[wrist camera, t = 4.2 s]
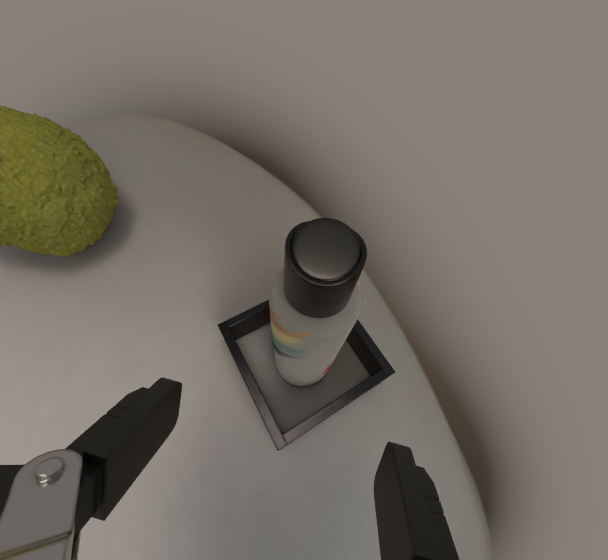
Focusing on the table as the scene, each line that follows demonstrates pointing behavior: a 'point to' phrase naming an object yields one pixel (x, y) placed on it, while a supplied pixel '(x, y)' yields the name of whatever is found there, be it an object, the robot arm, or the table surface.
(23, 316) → the table surface
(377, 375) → the holder
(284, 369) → the lotion bottle
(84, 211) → the fruit
